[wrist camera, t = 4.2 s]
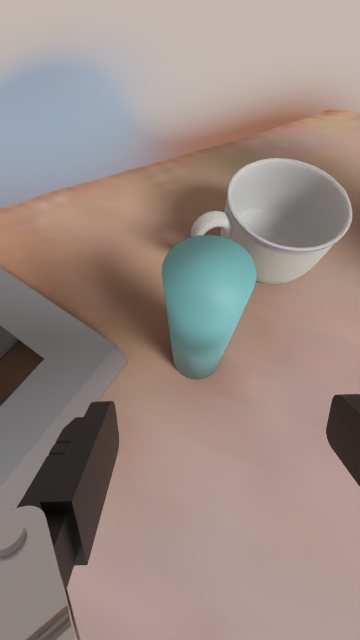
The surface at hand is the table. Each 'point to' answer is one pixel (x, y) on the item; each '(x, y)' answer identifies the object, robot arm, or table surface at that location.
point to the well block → (45, 382)
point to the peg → (205, 299)
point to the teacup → (281, 216)
